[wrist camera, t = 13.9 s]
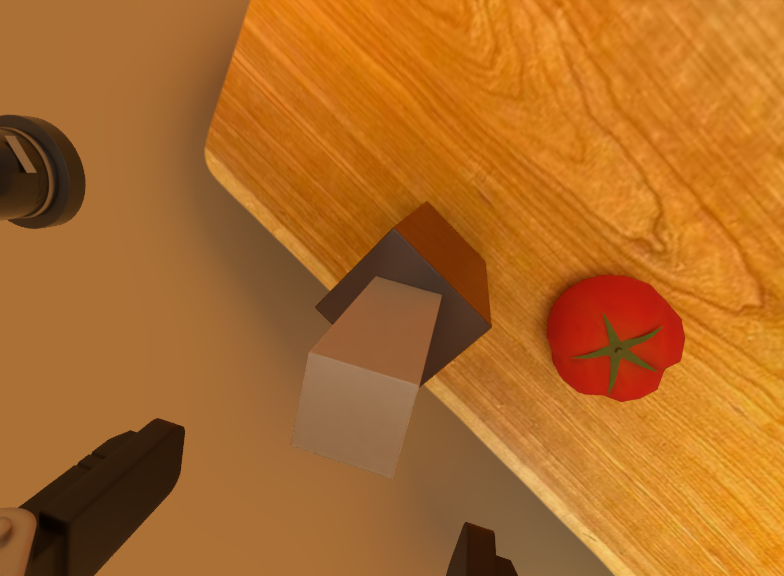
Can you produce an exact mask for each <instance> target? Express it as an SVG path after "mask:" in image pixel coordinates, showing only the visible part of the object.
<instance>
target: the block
mask: <svg viewBox="0 0 784 576" xmlns="http://www.w3.org/2000/svg"><path fill="white" fill-rule="evenodd" d="M441 298H442V295H441V294H437V293H434V292H430V291H426V290H423V289H419V288H416V287H412V286H409V285H405V284H402V283H398V282H394V281H391V280H387V279H384V278H380V277H377V276H375V278H374V279H373V280H372V281H371V282H370V283H369V284H368V286H367V287H366V288H365V289H364V290H363V291H362V292H361V294H360V295H359V296H358V297H357V298H356V299H355V300H354V301H353V303H352V304H351V305H350V306H349V307H348V308H347V309H346V311H345V312H344V313H343V314H342V315H341V316H340V317H339V319H338V320H337V321H336V322H335V323H334V324H333V325H332V327H331V328H330V329H329V330H328V331H327V332H326V333H325V335H324V336H323V337H322V338H321V339H320V340H319V341H318V343H317V344H316V345H315V346H314V347H313V348H312V349H311V350H310V352H309V354H308V359H307V364H306V369H305V374H304V379H303V384H302V389H301V394H300V399H299V405H298V410H297V415H296V420H295V425H294V430H293V435H292V440H291V446H293V447H296V448H299V449H302V450H305V451H308V452H311V453H314V454H317V455H320V456H323V457H326V458H329V459H332V460H335V461H338V462H342V463H345V464H348V465H351V466H354V467H357V468H360V469H363V470H366V471H369V472H372V473H375V474H378V475H381V476H384V477H387V478H390V479H392V478H393V476H394V472H395V469H396V465H397V462H398V459H399V455H400V451H401V448H402V444H403V441H404V438H405V434H406V431H407V427H408V424H409V420H410V417H411V414H412V410H413V406H414V403H415V399H416V396H417V393H418V389H419V386H420V382H421V378H422V374H423V370H424V366H425V362H426V358H427V354H428V350H429V346H430V342H431V338H432V334H433V330H434V326H435V322H436V318H437V314H438V310H439V306H440V302H441Z"/></svg>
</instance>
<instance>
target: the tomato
mask: <svg viewBox="0 0 784 576" xmlns="http://www.w3.org/2000/svg"><path fill="white" fill-rule="evenodd" d="M547 339H548V341H549V344H550V347H551V349H552V360H553V363H554V365H555V367H556V369H557V371H558V373H559V375H560V376H561V377H562V379H563V380H564V381H565V382H566V383H568V384H569V385H570V386H571V387H572V388H574V389H575V390H576V391H577V392H579V393H582V394H587V395H603V396H606V397H609V398H612V399H615V400H617V401H620V402H623V401H629V400H635V399H640V398H642V397H644V396H646V395H648V394H650V393H652V392H654V391H655V390H657V389H658V386H659V383H660V381H661V378H662V375H663V373H664V370H665V369H666V368H668V367H670V366H672V365H674V364H676V363H678V362H680V361H681V357H682V352H683V347H684V342H685V336H684V331H683V325H682V320H681V318H680V317H679V316H678V314H677V313H676V312H675V311H674V310H673V309H672V308H671V306H670V305H669V304H668V303H667V302H666V301H665V300H664V299H663V298H662V297H661V296H660V295H659V293H658V292H657V291H656V290H655V289H654V288H653V287H652V286H651V285H650V284H647V283H644V282H641V281H638V280H636V279H633V278H630V277H626V276H614V275H602V276H598V277H594V278H590V279H586V280H583V281H581V282H579V283H578V284H576V285H574V286H573V287H571V288H569V289H567V290H566V291H565V292H564V293H563V294H562V295H561V297H560V298H559V299H558V300H557V301H556V302H555V303H554V305H553V308H552V310H551V313H550V315H549V318H548V324H547Z"/></svg>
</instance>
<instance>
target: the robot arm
mask: <svg viewBox="0 0 784 576" xmlns="http://www.w3.org/2000/svg"><path fill="white" fill-rule="evenodd" d="M58 185H59V184H58V174H57V170H56V166H55V164H54V161H53V159H52V157H51V155H50V153H49V152H48V150H47V149H46V148H45V146H44V145H43V144H42V143H41V142H40V141H39V140H38V139H37V138H36V137H35V136H33V135H32V134H30V133H28V132H26V131H24V130H22V129H18V128H10V127H0V220H7V219H15V218H31V217H37V216H40V215H43V214H45V213H46V212H47V211H48V210H49V209H50V208H51V207H52V206H53V204H54V202H55V200H56V197H57V194H58ZM184 437H185V429H184V427H183V426H180V425H177V424H174V423H171V422H168V421H165V420H162V419H159V418H157V419H154V420H153V421H151V422H150V423H149V424H147V425H146V426H145V427H144V428H142V429H141V430H140V431H139V432H134V431H131V430H130V431H128V432H126V433H123V434H121V435H118V436H115V437H113V438H111V439H109V440H107V441H106V442H105V443H103V444H102V445H101V446H99V447H98V448H97V449H95V450H94V451H93V452H92V454H91V455H88V456H86V457H85V458H84V459H82V460H81V461H79V463H78V464H77V465H76V466H73V467H72V468H70V469H69V470H68V471H66V472H65V473H64V474H62V475H61V476H60V477H58V478H57V479H56V480H54V481H53V482H52V483H50V484H49V485H48V486H46V487H45V488H44V489H42V490H41V491H40V492H39V493H37V494H36V495H35V496H33V497H32V498H31V499H29V500H28V501H27V502H25V503H24V504H22V505H21V506H20V507H18V508H1V509H0V576H94V575H95V574H96V573H97V572H98V571H99V570H100V568H101V567H102V566H103V565H104V564H105V563H106V562H107V561H108V560H109V559H110V558H111V556H113V554H114V553H115V552H116V551H117V550H118V549H119V548H120V547H121V546H122V545H123V543H125V541H126V540H127V539H128V538H129V537H130V536H131V535H132V534H133V533H134V532H135V531H136V530H137V528H138V527H139V526H140V525H141V524H142V523H143V522H144V521H145V520H146V519H147V518H148V517H149V515H150V514H151V513H152V512H153V511H154V510H155V509H156V508H157V507H158V506H159V504H161V502H162V501H163V500H164V499H165V498H166V497H167V496H168V495H169V494H170V492H171V491H172V490H173V488H174V486H175V485H176V483H177V480H178V478H179V475H180V471H181V464H182V455H183V445H184ZM446 576H518V575H517V573H516V571H515V568H514V566H513V564H512V562H511V560H508V559H505V558H502V557H499V556H496V547H495V534H494V532H493V531H492V530H489V529H486V528H483V527H480V526H477V525H474V524H471V523H468V522H465V524H464V525H463V528H462V531H461V533H460V536H459V539H458V542H457V544H456V547H455V550H454V552H453V555H452V558H451V561H450V564H449V567H448V571H447V574H446Z"/></svg>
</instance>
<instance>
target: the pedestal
mask: <svg viewBox="0 0 784 576" xmlns="http://www.w3.org/2000/svg"><path fill="white" fill-rule="evenodd" d="M375 276H377V277H380V278H384V279H387V280H391V281H394V282H398V283H402V284H405V285H409V286H412V287H416V288H419V289H423V290H426V291H430V292H434V293H437V294H441V295H442V298H441V302H440V306H439V310H438V314H437V318H436V322H435V326H434V330H433V334H432V338H431V342H430V346H429V350H428V354H427V358H426V362H425V366H424V370H423V374H422V378H421V382H420V386H419V388H420V387H421V386H422V385H423V384H424V383H426V382H427V381H428V380H429V379H430V378H432V377H433V376H434V375H435V374H436V373H438V372H439V371H440V370H441V369H442V368H444V367H445V366H446V365H447V364H448V363H450V362H451V361H452V360H453V359H454V358H456V357H457V356H458V355H459V354H461V353H462V352H463V351H464V350H465V349H467V348H468V347H469V346H470V345H471V344H473V343H474V342H475V341H476V340H477V339H479V338H480V337H481V336H482V335H483V334H485V333H486V332H487V331H488V330H489V329H491V327H492V324H491V314H490V304H489V294H488V284H487V274H486V264H485V260H484V259H483V258H482V257H481V256H480V255H479V254H478V253H477V252H476V251H475V250H474V249H473V248H472V247H471V246H470V245H469V244H468V243H467V242H466V241H465V240H464V239H463V238H462V237H461V236H460V235H459V234H458V233H457V232H456V231H455V230H454V229H453V228H452V226H451V225H450V224H449V223H448V222H447V221H446V220H445V219H444V218H443V217H442V216H441V215H440V214H439V213H438V212H437V211H436V210H435V209H434V208H433V207H432V206H431V205H430V204H429V203H428V202H425V203H424V204H423V205H421V206H420V207H419V208H417V209H416V210H415V211H414V212H412V213H411V214H410V215H409V216H407V217H406V218H405V219H404V220H402V221H401V222H400V223H399V224H397V225H396V226H395V227H393V228H392V229H391V230H390V231H389V232H388V233H387V234H386V235H385V236H384V237H383V238H382V239H381V241H380V242H379V243H378V244H377V245H376V246H375V247H374V248H373V249H372V250H371V251H370V252H369V253H368V254H367V255H366V256H365V257H364V258H363V259H362V260H361V261H360V262H359V263H358V264H357V265H356V266H355V267H354V268H353V269H352V270H351V271H350V272H349V273H348V274H347V275H346V276H345V277H344V278H343V279H342V280H341V281H340V282H339V283H338V284H337V285H336V286H335V287H334V288H333V289H332V290H331V291H330V292H329V293H328V294H327V295H326V296H325V297H324V298H323V299H322V300H321V301H320V302H319V303H318V304H317V306H316V307H315V308H316V309H317V310H318V311H319V312H320V313H321V314H322V315H323V316H324V317H325V318H326V319H327V320H328V321H329V322H330V323H331V324H332V325H333V324H334V323H335V322H336V321H337V320H338V319H339V317H340V316H341V315H342V314H343V313H344V312H345V311H346V309H347V308H348V307H349V306H350V305H351V304H352V303H353V301H354V300H355V299H356V298H357V297H358V296H359V295H360V294H361V292H362V291H363V290H364V289H365V288H366V287H367V286H368V284H369V283H370V282H371V281H372V280H373V279H374V278H375Z"/></svg>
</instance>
